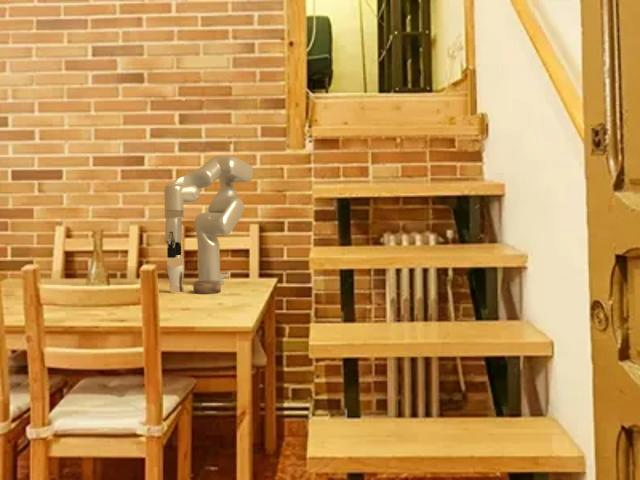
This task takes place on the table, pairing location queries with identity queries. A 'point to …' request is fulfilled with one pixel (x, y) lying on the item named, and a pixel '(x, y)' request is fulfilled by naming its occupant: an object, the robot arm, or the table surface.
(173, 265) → the beer glass
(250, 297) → the table surface
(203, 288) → the walnut pedestal
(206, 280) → the robot arm
